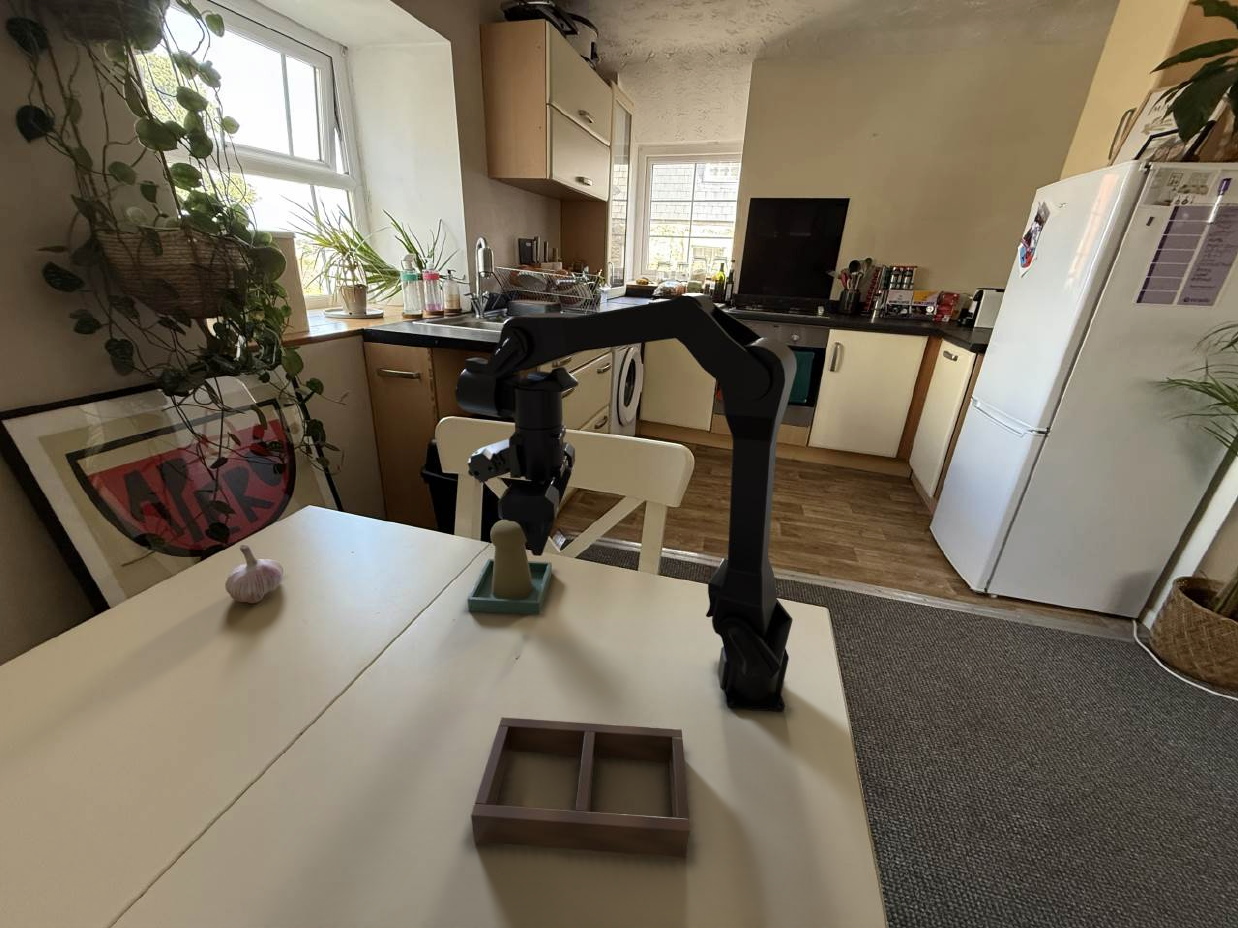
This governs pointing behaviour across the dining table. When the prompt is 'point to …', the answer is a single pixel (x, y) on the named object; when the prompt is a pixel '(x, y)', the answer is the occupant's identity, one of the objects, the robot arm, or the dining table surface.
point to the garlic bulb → (253, 578)
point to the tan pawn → (510, 562)
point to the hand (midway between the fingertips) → (544, 536)
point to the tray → (531, 604)
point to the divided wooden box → (583, 790)
